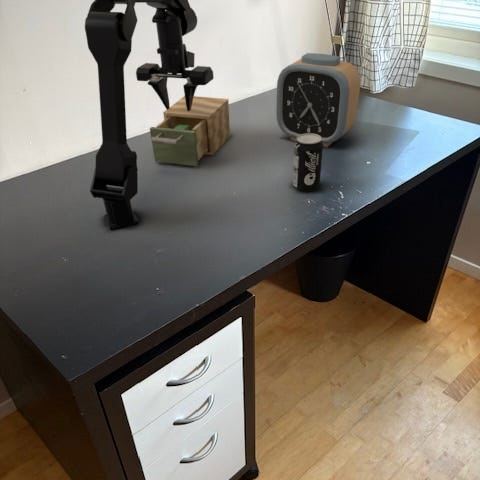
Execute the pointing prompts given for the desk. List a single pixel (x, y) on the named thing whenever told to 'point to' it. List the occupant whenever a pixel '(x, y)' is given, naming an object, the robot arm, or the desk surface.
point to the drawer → (180, 140)
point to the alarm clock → (318, 97)
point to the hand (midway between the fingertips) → (178, 109)
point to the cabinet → (206, 117)
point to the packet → (182, 127)
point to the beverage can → (307, 162)
